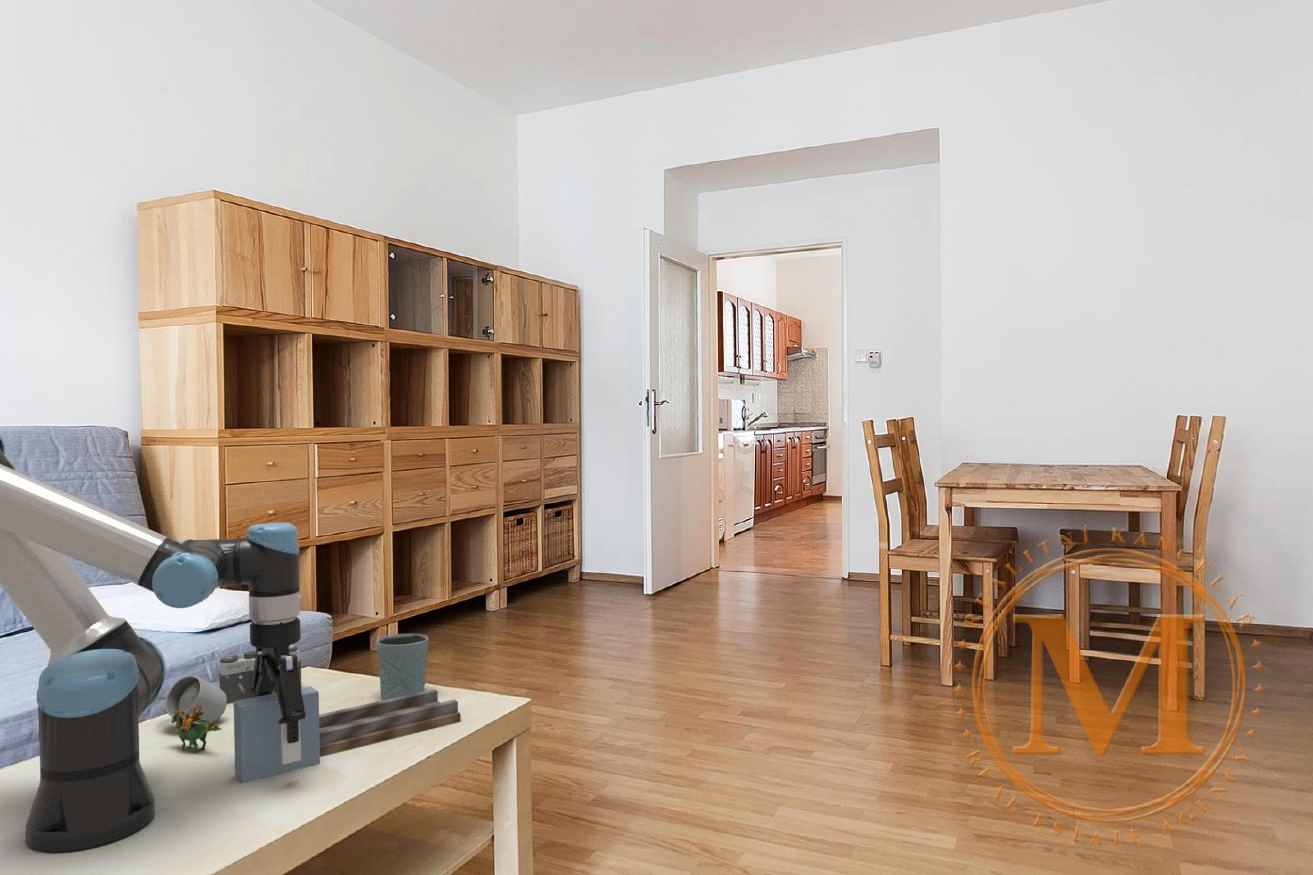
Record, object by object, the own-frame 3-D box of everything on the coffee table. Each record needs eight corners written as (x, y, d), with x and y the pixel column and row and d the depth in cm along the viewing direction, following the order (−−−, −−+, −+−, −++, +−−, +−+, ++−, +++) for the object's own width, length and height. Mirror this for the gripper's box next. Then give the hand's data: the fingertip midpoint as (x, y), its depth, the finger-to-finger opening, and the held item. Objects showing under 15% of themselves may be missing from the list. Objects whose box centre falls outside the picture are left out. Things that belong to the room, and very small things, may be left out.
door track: (319, 756, 147) (319, 736, 147) (296, 737, 156) (296, 717, 156) (460, 721, 164) (460, 702, 164) (432, 705, 173) (431, 688, 173)
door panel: (242, 784, 136) (240, 707, 136) (235, 776, 139) (233, 701, 139) (319, 764, 144) (318, 691, 144) (311, 757, 147) (310, 686, 147)
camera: (231, 714, 169) (230, 663, 169) (217, 702, 177) (216, 653, 176) (313, 697, 179) (312, 648, 179) (296, 686, 187) (295, 639, 187)
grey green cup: (368, 704, 174) (367, 644, 174) (390, 688, 184) (390, 632, 184) (416, 706, 173) (416, 645, 172) (436, 690, 183) (435, 633, 182)
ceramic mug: (210, 735, 162) (238, 699, 164) (177, 724, 156) (207, 687, 158) (182, 705, 168) (209, 671, 170) (148, 694, 161) (178, 658, 163)
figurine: (180, 743, 154) (179, 697, 153) (229, 753, 149) (228, 706, 149) (164, 750, 151) (163, 703, 151) (214, 760, 146) (213, 711, 146)
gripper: (325, 629, 134) (328, 766, 134) (275, 603, 153) (278, 724, 154) (274, 637, 129) (277, 779, 130) (229, 610, 148) (232, 734, 149)
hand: (277, 749), depth 142 cm, fingers open, 13 cm apart
